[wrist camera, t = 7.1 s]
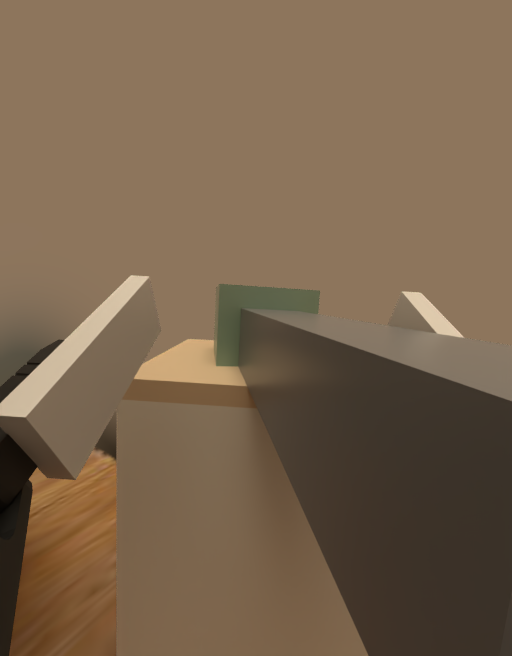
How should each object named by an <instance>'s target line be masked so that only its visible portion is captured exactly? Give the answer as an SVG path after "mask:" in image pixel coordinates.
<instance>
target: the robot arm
mask: <svg viewBox="0 0 512 656" xmlns="http://www.w3.org/2000/svg"><path fill="white" fill-rule="evenodd" d="M387 326H394V327H400V328H406V329H412V330H418V331H424V332H431V333H437V334H443V335H449V336H455V337H462V338H464V337H463V336H462V335H461V334H460V333H459V332H458V331H457V330H456V329H455V328H454V327H453V326H452V325H451V324H450V323H449V321H447V319H446V318H445V317H444V316H443V315H442V314H441V313H440V312H439V311H438V310H437V309H436V308H435V307H434V306H433V305H432V304H431V303H430V302H429V301H428V300H427V299H426V298H425V297H424V296H423V295H422V293H417V292H401V294H400V297H399V299H398V301H397V304H396V306H395V309H394V311H393V313H392V316H391V318H390V321H389V323H388V325H387ZM160 332H161V327H160V323H159V318H158V313H157V309H156V304H155V300H154V295H153V291H152V286H151V281H150V277H146V276H130V277H129V278H128V279H127V280H126V281H125V282H124V283H123V284H122V285H121V286H120V287H119V288H118V289H117V290H116V291H115V292H114V293H113V294H112V295H111V296H109V298H107V299H106V300H105V301H104V302H103V303H102V304H101V305H100V306H99V307H98V308H97V309H96V310H95V311H94V312H93V313H92V314H91V315H90V316H89V317H88V318H87V319H86V320H85V321H84V322H83V323H82V324H81V325H80V326H79V327H78V328H77V329H76V330H75V331H74V332H73V333H72V334H71V335H70V336H69V337H67V338H66V340H57V341H55V342H54V343H52V344H51V345H48V346H47V347H45V348H43V349H41V350H40V351H39V352H38V353H37V354H36V355H35V356H34V357H32V358H31V359H30V360H29V361H28V362H27V365H24V366H23V367H21V368H20V369H19V370H18V371H17V372H16V375H15V376H12V377H11V378H10V379H8V380H7V381H6V382H5V383H4V384H3V385H2V386H1V387H0V656H9V650H10V643H11V636H12V630H13V623H14V616H15V609H16V602H17V595H18V588H19V581H20V574H21V567H22V560H23V554H24V547H25V540H26V533H27V526H28V519H29V512H30V505H31V498H32V491H33V490H32V483H31V482H30V481H29V480H28V479H29V478H30V476H31V475H32V474H33V472H34V471H35V469H36V468H37V467H38V468H39V470H40V471H41V472H42V473H43V474H44V475H45V476H46V477H47V478H57V479H71V480H76V478H77V477H78V475H79V473H80V471H81V470H82V468H83V466H84V464H85V463H86V461H87V459H88V457H89V456H90V454H91V452H92V450H93V449H94V447H95V445H96V443H97V442H98V440H99V438H100V437H101V435H102V433H103V431H104V430H105V428H106V426H107V424H108V423H109V421H110V419H111V417H112V415H113V414H114V412H115V410H116V409H117V407H118V405H119V403H120V402H121V400H122V398H123V396H124V395H125V393H126V391H127V389H128V388H129V386H130V384H131V382H132V381H133V379H134V377H135V375H136V374H137V372H138V370H139V368H140V367H141V365H142V363H143V361H144V360H145V358H146V356H147V354H148V353H149V351H150V349H151V347H152V346H153V344H154V342H155V341H156V339H157V337H158V335H159V334H160Z"/></svg>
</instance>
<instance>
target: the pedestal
mask: <svg viewBox="0 0 512 656" xmlns="http://www.w3.org/2000/svg"><path fill="white" fill-rule="evenodd" d="M116 656H368V653H367V651H366V649H365V647H364V645H363V642H362V640H361V638H360V636H359V633H358V631H357V629H356V627H355V625H354V622H353V620H352V618H351V616H350V614H349V611H348V609H347V607H346V605H345V602H344V600H343V598H342V596H341V594H340V591H339V589H338V587H337V585H336V582H335V580H334V578H333V576H332V574H331V571H330V569H329V567H328V565H327V562H326V560H325V558H324V556H323V554H322V551H321V549H320V547H319V545H318V542H317V540H316V538H315V536H314V534H313V531H312V529H311V527H310V525H309V522H308V520H307V518H306V516H305V514H304V511H303V509H302V507H301V505H300V503H299V500H298V498H297V496H296V494H295V491H294V489H293V487H292V485H291V483H290V480H289V478H288V476H287V474H286V471H285V469H284V467H283V465H282V463H281V460H280V458H279V456H278V454H277V451H276V449H275V447H274V445H273V443H272V440H271V438H270V436H269V434H268V431H267V429H266V427H265V425H264V423H263V420H262V418H261V416H260V414H259V411H258V409H257V407H256V405H255V403H254V400H253V398H252V396H251V394H250V392H249V389H248V387H247V385H246V383H245V380H244V378H243V376H242V374H241V371H240V369H239V367H238V366H216V362H215V354H214V340H197V339H188V340H186V341H184V342H182V343H180V344H179V345H177V346H175V347H173V348H171V349H169V350H167V351H166V352H164V353H162V354H160V355H158V356H156V357H154V358H153V359H151V360H149V361H147V362H145V363H143V364H142V365H141V367H140V368H139V370H138V372H137V374H136V375H135V377H134V379H133V381H132V382H131V384H130V386H129V388H128V389H127V391H126V393H125V395H124V396H123V398H122V400H121V402H120V403H119V405H118V407H117V626H116Z"/></svg>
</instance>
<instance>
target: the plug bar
mask: <svg viewBox="0 0 512 656" xmlns="http://www.w3.org/2000/svg"><path fill="white" fill-rule="evenodd" d="M319 295H320V291H316V290H300V289H286V288H272V287H257V286H242V285H227V284H219V285H218V286H217V287H216V306H215V332H214V354H215V362H216V366H238V367H239V369H240V371H241V374H242V376H243V378H244V380H245V383H246V385H247V387H248V389H249V392H250V394H251V396H252V398H253V400H254V403H255V405H256V407H257V409H258V411H259V414H260V416H261V418H262V420H263V423H264V425H265V427H266V429H267V431H268V434H269V436H270V438H271V440H272V443H273V445H274V447H275V449H276V451H277V454H278V456H279V458H280V460H281V463H282V465H283V467H284V469H285V471H286V474H287V476H288V478H289V480H290V483H291V485H292V487H293V489H294V491H295V494H296V496H297V498H298V500H299V503H300V505H301V507H302V509H303V511H304V514H305V516H306V518H307V520H308V522H309V525H310V527H311V529H312V531H313V534H314V536H315V538H316V540H317V542H318V545H319V547H320V549H321V551H322V554H323V556H324V558H325V560H326V562H327V565H328V567H329V569H330V571H331V574H332V576H333V578H334V580H335V582H336V585H337V587H338V589H339V591H340V594H341V596H342V598H343V600H344V602H345V605H346V607H347V609H348V611H349V614H350V616H351V618H352V620H353V622H354V625H355V627H356V629H357V631H358V633H359V636H360V638H361V640H362V642H363V645H364V647H365V649H366V651H367V653H368V656H512V346H511V345H504V344H498V343H492V342H486V341H480V340H474V339H468V338H462V337H455V336H449V335H443V334H437V333H431V332H424V331H418V330H412V329H406V328H400V327H394V326H387V325H381V324H375V323H369V322H363V321H356V320H350V319H344V318H337V317H331V316H325V315H319V314H318V308H319Z"/></svg>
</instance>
